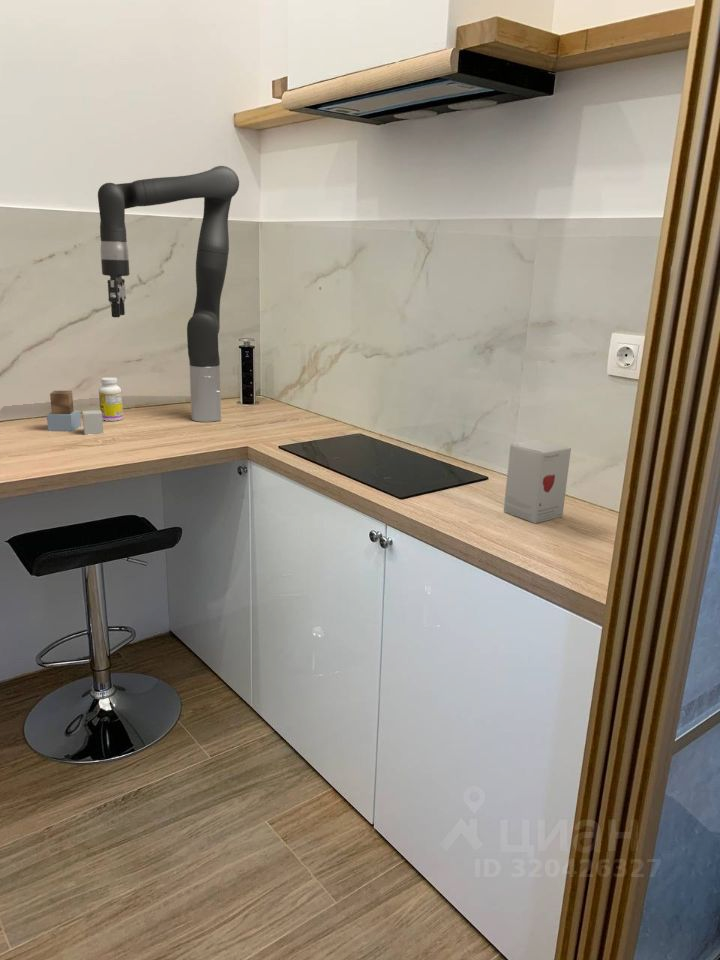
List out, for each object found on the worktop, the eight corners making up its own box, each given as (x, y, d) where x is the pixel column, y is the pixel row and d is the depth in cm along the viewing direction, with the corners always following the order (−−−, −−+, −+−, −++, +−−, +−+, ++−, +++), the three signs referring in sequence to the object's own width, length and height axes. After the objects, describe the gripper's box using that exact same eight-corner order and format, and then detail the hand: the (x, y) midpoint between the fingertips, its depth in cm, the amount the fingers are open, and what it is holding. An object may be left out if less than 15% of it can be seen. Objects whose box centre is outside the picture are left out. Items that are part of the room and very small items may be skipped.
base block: (81, 427, 216) (80, 410, 214) (72, 432, 209) (70, 415, 208) (57, 426, 216) (56, 409, 214) (48, 431, 209) (46, 414, 208)
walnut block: (73, 410, 214) (71, 390, 212) (70, 414, 209) (68, 393, 207) (55, 410, 213) (53, 390, 211) (52, 414, 208) (49, 393, 206)
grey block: (102, 430, 212) (100, 410, 210) (103, 434, 208) (101, 413, 206) (83, 431, 210) (82, 411, 208) (84, 435, 206) (83, 414, 204)
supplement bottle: (101, 417, 228) (98, 376, 224) (123, 416, 230) (120, 376, 226) (100, 422, 222) (97, 380, 218) (123, 421, 224) (120, 380, 220)
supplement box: (535, 524, 146) (542, 452, 141) (502, 512, 153) (508, 443, 148) (564, 516, 151) (572, 447, 147) (531, 505, 158) (538, 438, 153)
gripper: (124, 258, 201) (128, 318, 206) (132, 258, 215) (135, 314, 219) (96, 257, 200) (100, 317, 205) (105, 258, 213) (109, 314, 218)
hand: (118, 316), depth 212 cm, fingers open, 8 cm apart
